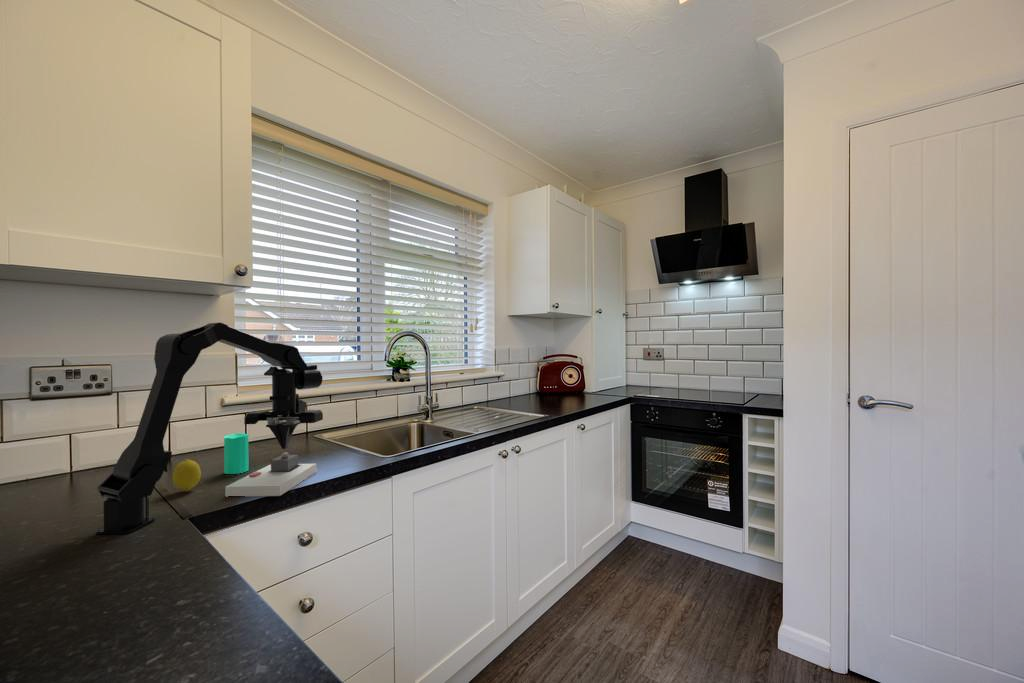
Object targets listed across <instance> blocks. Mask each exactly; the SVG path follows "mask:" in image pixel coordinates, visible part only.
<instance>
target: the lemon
mask: <svg viewBox="0 0 1024 683" xmlns="http://www.w3.org/2000/svg"><path fill="white" fill-rule="evenodd" d="M201 471H202V470H201V467H200V465H199V464H198V463H197V462H196V461H194V460H191V459H189V458H187V459H184V460H183V461H181V462H180V463H178V464H177V465H176V466H175V467H174V470H173V473H172V483H173V484H174V486H175V488H177V489H179V490H183V491H184V492H189V491H190V490H191V489H192V488H194V487H196V485H198V484H199V482H200V480H201V476H202V474H201Z"/></svg>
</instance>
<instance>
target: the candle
mask: <svg viewBox="0 0 1024 683" xmlns="http://www.w3.org/2000/svg"><path fill="white" fill-rule="evenodd" d="M223 450H224V451H223V454H224V456H223V464H224V466H223V467H224V468H223V469H224V470H223V472H224V473H226V474H236V473H242V474H244V473H243V472H246V471H248V470H249V466H250V465H249V463H250V461H249V458H250V457H249V454H250V453H249V452H250V451H249V434H247V433H243V432H238V430H235V433H233V434H227V435H224V437H223ZM249 471H250V470H249ZM249 471H248V472H249ZM246 473H247V472H246Z"/></svg>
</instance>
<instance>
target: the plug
mask: <svg viewBox="0 0 1024 683" xmlns="http://www.w3.org/2000/svg"><path fill="white" fill-rule="evenodd" d="M270 464H271V473H274V472H291V471H292V470H294V469H296V468H298V464H299V454H289V452H282V453H281V455H280V456H278V457H275V458H273V459H271V460H270Z"/></svg>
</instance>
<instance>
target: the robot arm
mask: <svg viewBox="0 0 1024 683" xmlns="http://www.w3.org/2000/svg"><path fill="white" fill-rule="evenodd" d="M217 342H219V343H222V344H225V345H228V346H230V347H233V348H236V349H238V350H242V351H245V352H248V353H251V354H253V355H256V356H258V357H259V358H261V359H262V361H264V362H265V363H267V364H269V365H271V366H270V367H269V369H267V370H266V371H265V372H264V373H263V375H264V376H267V377H270V376H271V386H272V387H271V388H272V390H271V391H272V392H271V393H272V394H271V396H269V401H271V402H272V403H271V404H272V408H271V411H270V410H256V411H252V412H247V413H246V414H245V416H244V423H243V424H244V425H256V424H258V423H259V421H260V422H264V421H266V422H267V424H266V425H265V427H266V428H269V429H270V431H271V433H273V435H274V437H275V438H276V440H277V443H279V445H280V448H281V449H283V450H286V449H288V446H289V443H290V441H291V439H292V435H293V434H294V432H295V429H296V428H297V426H298V425H300V424H315V423H317V422H320V421H322V420H324V415H323V411H322V410H321V409H307V405H308V402H306V401H304V400H302V399H300V396H299V393H297V390H308V389H316V388H319V387H320V386H321V385H322V383H323V379H324V378H323V375H322V373H321V371H320V370H319V369H318V365H317V364H308V365H307V363H306V362H305V360H304V359H303V357H302V355H301V353H300V352H299V348H298V347H296V346H295V345H291V344H286V343H279V342H273V341H268V340H267V339H264V338H263V339H262V338H260V337H258V336H255V335H252V334H251V333H247V332H244V331H242V330H239V329H237V328H235V327H232V326H229V325H227V323H224V322H211V323H210V322H208V323H207V324H205V325H202V326H200V327H197V328H194V329H191V330H187V331H183V332H182V333H167V334H165V335H163V336H159V338H158V340H157V341H156V343H155V350H154V358H153V359H154V360H153V361H154V365H155V369H156V371H155V376H154V378H153V382H152V385H151V388H150V390H149V393H148V397H147V398H146V403H145V406H144V409H143V412H142V415H141V418H140V421H139V424H138V427H137V430H136V432H135V435H134V438H133V440H132V441H131V442H130V443H129V444H128V446H127V447H126V448H125V449H124V450H123V451H122V453H121V454H120V457H119V458H118V460H117V461H116V463H115V464H114V467H113V470H112V472H111V473H110V475H109V476H107V478H105V479H104V480H103V481H102V482H101V483H100V484H99V485H98V486H97V488H96V489H97V492H98V493H99V495H100V497H101V498H106V500H104V501H103V527H102V528H100V529H98V530H97V529H96V530H95V532H94V533H95V535H105V534H106V535H108V534H109V535H113V534H120V535H121V534H129V533H132V532H134V531H136V530H138V529H140V528H142V527H144V526H146V525H149V524H150V523H152V522H154V521H156V517H149V516H150V515H149V514H150V513H149V512H150V510H149V509H150V504H149V500H150V498H149V497H150V496H152V494H153V493H154V492H153V491H154V489H155V486H156V484H157V482H159V481H160V480H161V479H162V477H163V476H164V472H165V473H167V472H168V465H169V462H170V460H171V458H172V455H173V454H172V453H173V452H172V451H171V450H170V451H169V450H165V446H164V439H165V437H166V434H167V429H168V427H169V423H170V421H171V416H172V413H173V411H174V408H175V404H176V401H177V398H178V395H179V392H180V388H181V386H182V382H183V379H184V377H185V375H186V374H187V372H188V371H189V370H190V369H191V368H192V367H193V366H194V365H195V364H196V361H197V359H198V358H199V356H200V354H201V353H202V351H203V350H206V349H208V348H209V347H211V346H213V345H214V344H216V343H217Z"/></svg>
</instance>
